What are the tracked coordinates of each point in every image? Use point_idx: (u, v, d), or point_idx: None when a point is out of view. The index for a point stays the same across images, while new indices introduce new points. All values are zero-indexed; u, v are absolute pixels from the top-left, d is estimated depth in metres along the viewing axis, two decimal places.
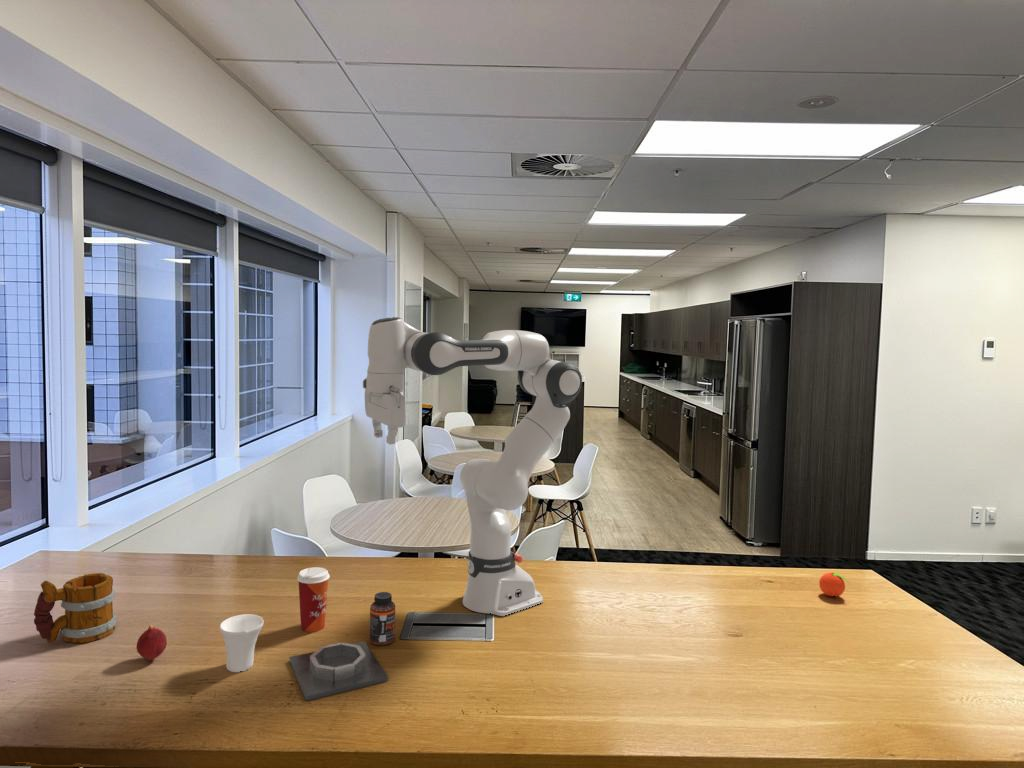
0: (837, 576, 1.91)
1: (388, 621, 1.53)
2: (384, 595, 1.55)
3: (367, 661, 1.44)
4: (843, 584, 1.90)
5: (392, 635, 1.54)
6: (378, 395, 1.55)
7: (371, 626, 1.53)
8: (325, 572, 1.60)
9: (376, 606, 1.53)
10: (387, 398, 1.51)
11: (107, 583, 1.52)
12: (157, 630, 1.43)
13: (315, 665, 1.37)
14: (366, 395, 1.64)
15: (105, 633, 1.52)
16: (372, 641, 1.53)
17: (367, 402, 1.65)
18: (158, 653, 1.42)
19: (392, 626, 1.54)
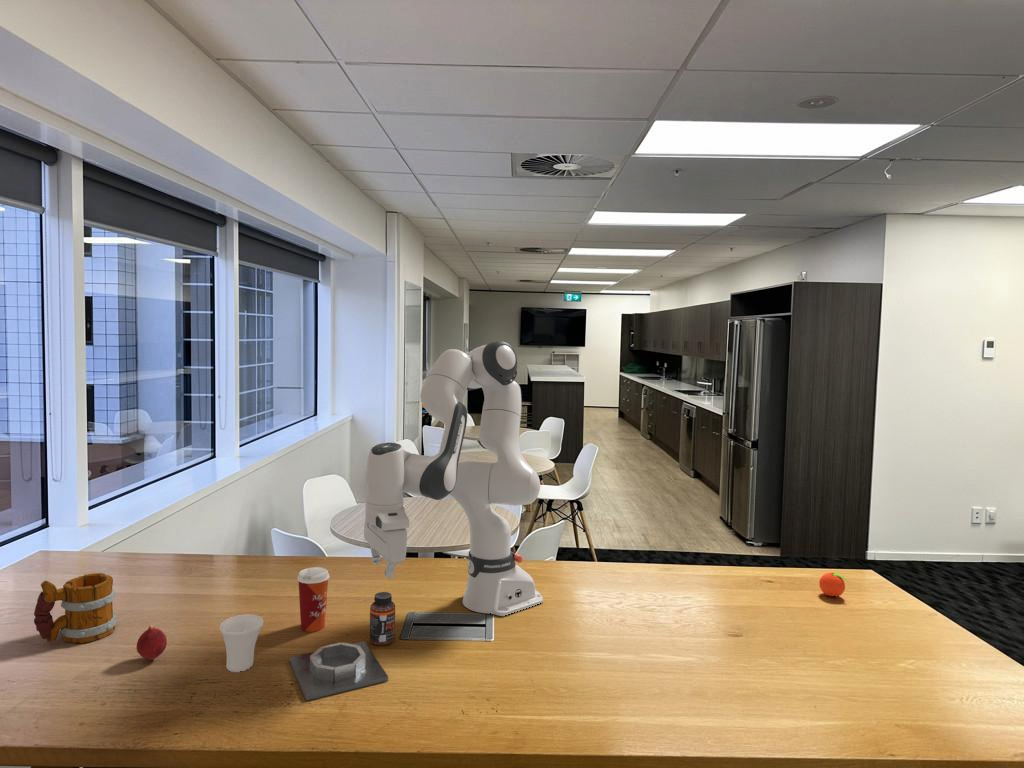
0: (837, 576, 1.91)
1: (388, 621, 1.53)
2: (384, 595, 1.55)
3: (367, 661, 1.44)
4: (843, 584, 1.90)
5: (392, 635, 1.54)
6: None
7: (371, 626, 1.53)
8: (325, 572, 1.60)
9: (376, 606, 1.53)
10: None
11: (107, 583, 1.52)
12: (157, 630, 1.43)
13: (315, 665, 1.37)
14: None
15: (105, 633, 1.52)
16: (372, 641, 1.53)
17: None
18: (158, 653, 1.42)
19: (392, 626, 1.54)
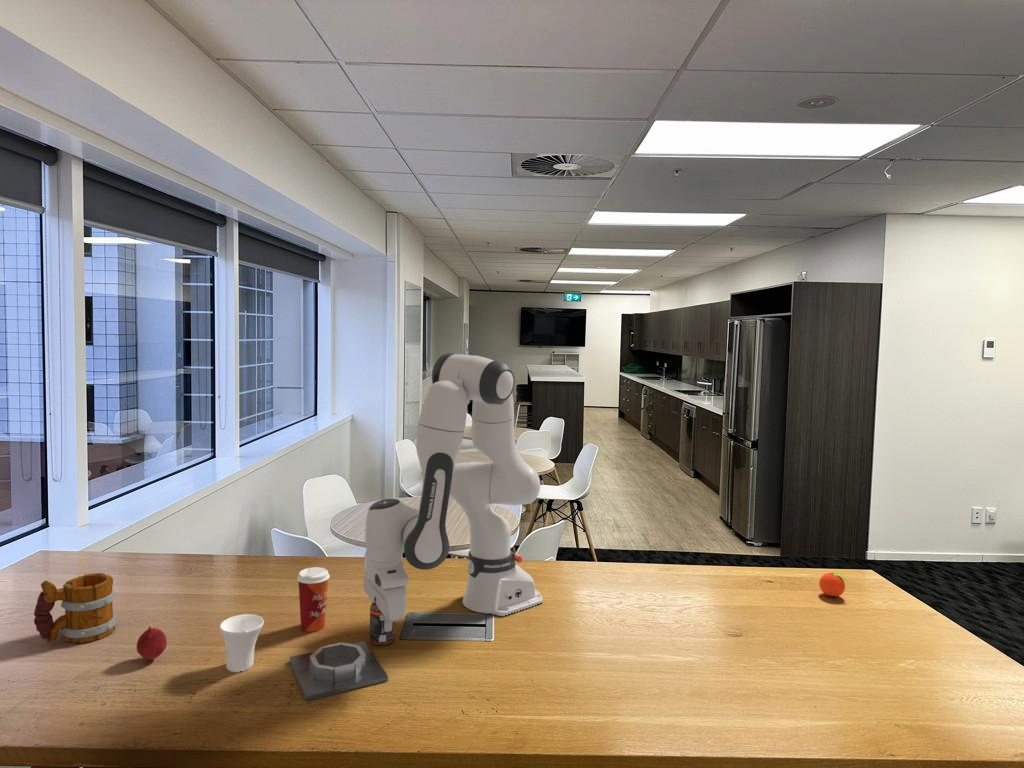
0: (837, 576, 1.91)
1: None
2: None
3: (367, 661, 1.44)
4: (843, 584, 1.90)
5: (392, 635, 1.54)
6: None
7: (371, 626, 1.53)
8: (325, 572, 1.60)
9: (376, 606, 1.53)
10: None
11: (107, 583, 1.52)
12: (157, 630, 1.43)
13: (315, 665, 1.37)
14: None
15: (105, 633, 1.52)
16: (372, 641, 1.53)
17: None
18: (158, 653, 1.42)
19: (392, 626, 1.54)
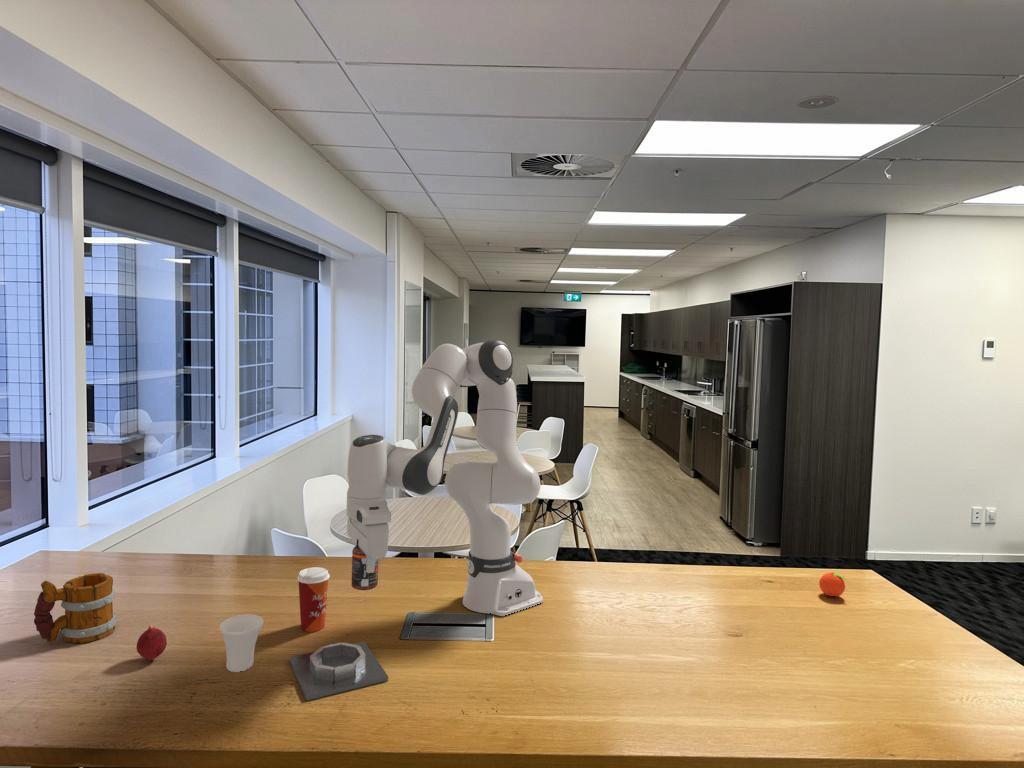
0: (837, 576, 1.91)
1: None
2: None
3: (367, 661, 1.44)
4: (843, 584, 1.90)
5: (375, 580, 1.48)
6: None
7: (353, 570, 1.47)
8: (325, 572, 1.60)
9: (358, 548, 1.47)
10: None
11: (107, 583, 1.52)
12: (157, 630, 1.43)
13: (315, 665, 1.37)
14: None
15: (105, 633, 1.52)
16: (354, 586, 1.47)
17: None
18: (158, 653, 1.42)
19: (375, 571, 1.48)
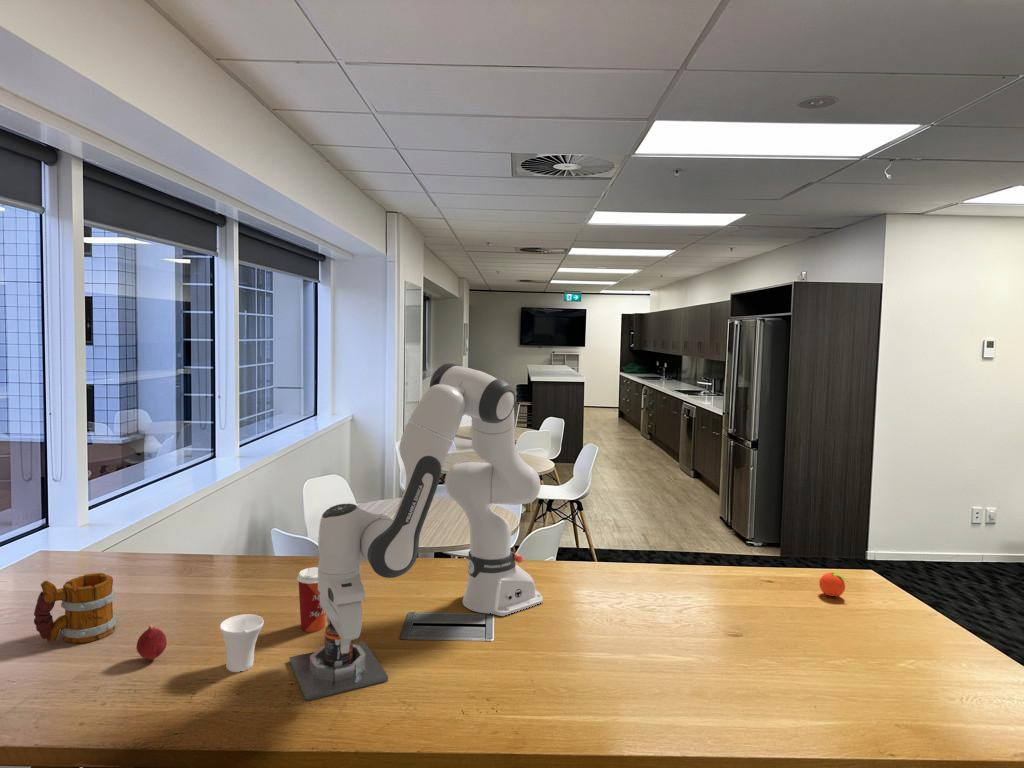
0: (837, 576, 1.91)
1: None
2: None
3: (367, 661, 1.44)
4: (843, 584, 1.90)
5: (349, 661, 1.40)
6: None
7: (326, 651, 1.39)
8: None
9: (331, 628, 1.39)
10: None
11: (107, 583, 1.52)
12: (157, 630, 1.43)
13: (315, 665, 1.37)
14: None
15: (105, 633, 1.52)
16: None
17: None
18: (158, 653, 1.42)
19: (349, 651, 1.40)
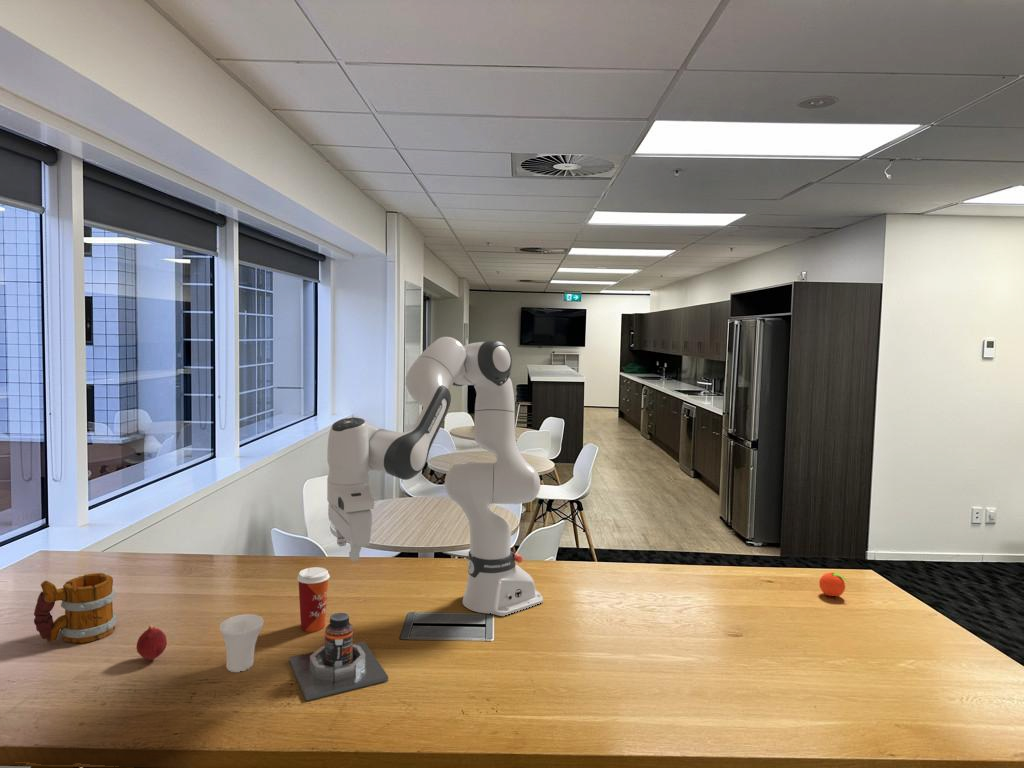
0: (837, 576, 1.91)
1: (345, 645, 1.39)
2: (340, 616, 1.40)
3: (367, 661, 1.44)
4: (843, 584, 1.90)
5: (349, 660, 1.40)
6: None
7: (326, 651, 1.39)
8: (325, 572, 1.60)
9: (331, 628, 1.39)
10: None
11: (107, 583, 1.52)
12: (157, 630, 1.43)
13: (315, 665, 1.37)
14: None
15: (105, 633, 1.52)
16: None
17: None
18: (158, 653, 1.42)
19: (349, 651, 1.40)
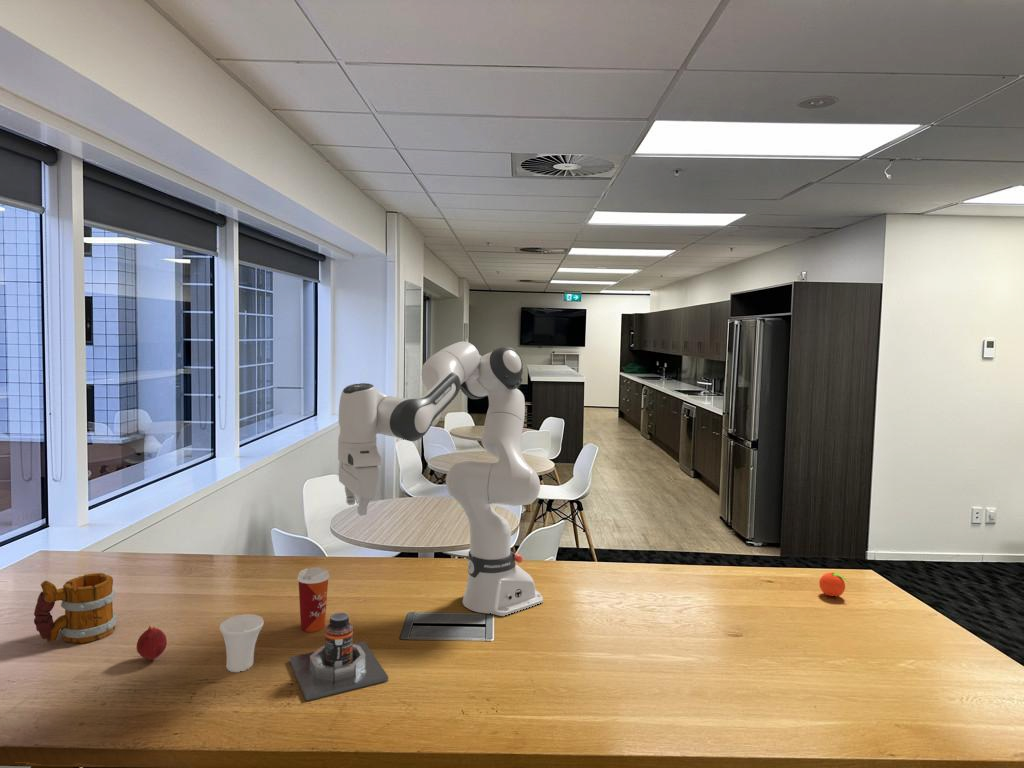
0: (837, 576, 1.91)
1: (345, 645, 1.39)
2: (340, 616, 1.40)
3: (367, 661, 1.44)
4: (843, 584, 1.90)
5: (349, 660, 1.40)
6: None
7: (326, 651, 1.39)
8: (325, 572, 1.60)
9: (331, 628, 1.39)
10: None
11: (107, 583, 1.52)
12: (157, 630, 1.43)
13: (315, 665, 1.37)
14: None
15: (105, 633, 1.52)
16: None
17: None
18: (158, 653, 1.42)
19: (349, 651, 1.40)
